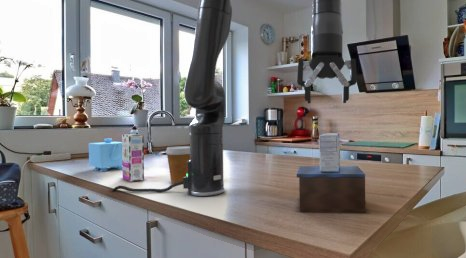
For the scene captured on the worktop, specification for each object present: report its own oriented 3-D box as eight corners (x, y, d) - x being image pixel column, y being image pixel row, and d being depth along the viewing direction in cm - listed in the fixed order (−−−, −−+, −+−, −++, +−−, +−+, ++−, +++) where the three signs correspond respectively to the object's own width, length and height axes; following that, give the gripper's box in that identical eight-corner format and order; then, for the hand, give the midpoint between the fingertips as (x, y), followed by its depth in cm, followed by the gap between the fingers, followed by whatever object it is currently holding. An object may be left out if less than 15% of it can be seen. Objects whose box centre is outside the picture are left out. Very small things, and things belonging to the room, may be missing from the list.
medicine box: (338, 172, 67) (338, 134, 67) (319, 172, 68) (318, 134, 68) (340, 167, 75) (339, 133, 75) (322, 167, 76) (322, 133, 76)
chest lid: (296, 177, 66) (296, 173, 66) (299, 169, 78) (299, 166, 78) (365, 177, 65) (365, 173, 65) (357, 169, 77) (357, 166, 77)
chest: (299, 211, 66) (299, 177, 66) (301, 198, 78) (301, 169, 78) (365, 212, 65) (365, 177, 65) (357, 199, 77) (357, 169, 77)
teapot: (87, 168, 134) (86, 138, 134) (113, 165, 143) (113, 137, 142) (106, 173, 120) (105, 140, 120) (134, 170, 129) (133, 138, 129)
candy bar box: (145, 180, 105) (144, 134, 105) (129, 182, 102) (128, 135, 101) (136, 176, 113) (135, 133, 113) (122, 178, 110) (120, 134, 110)
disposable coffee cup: (162, 181, 103) (162, 147, 102) (190, 178, 109) (189, 145, 108) (170, 186, 95) (169, 149, 95) (199, 182, 101) (199, 147, 101)
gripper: (354, 39, 75) (354, 103, 75) (298, 41, 76) (298, 104, 76) (358, 30, 67) (358, 102, 68) (296, 32, 68) (296, 102, 69)
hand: (326, 103), depth 72 cm, fingers open, 8 cm apart
